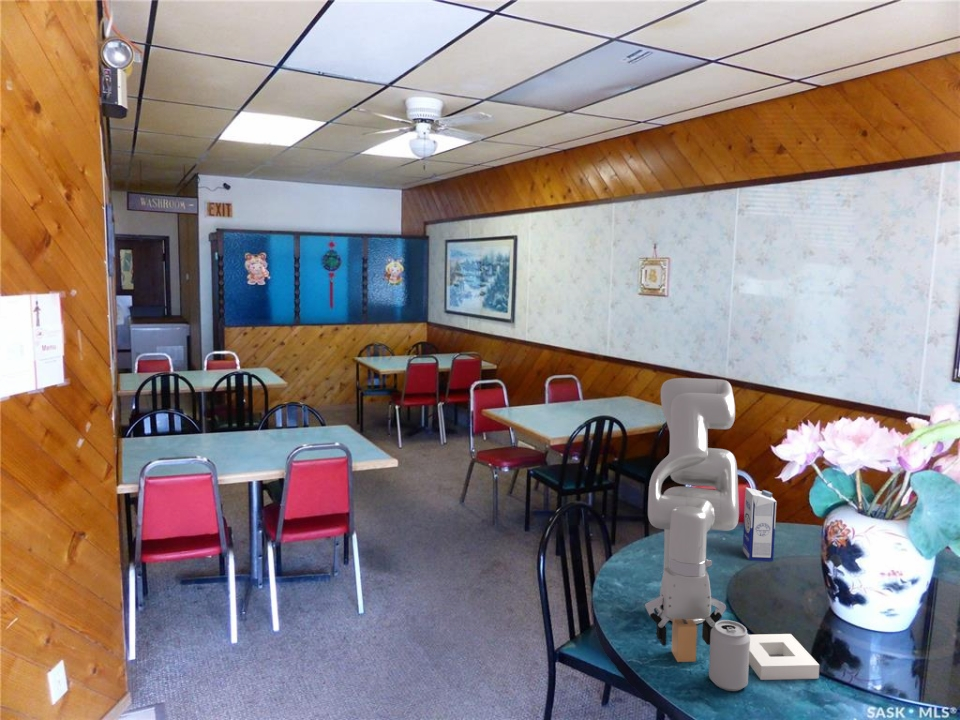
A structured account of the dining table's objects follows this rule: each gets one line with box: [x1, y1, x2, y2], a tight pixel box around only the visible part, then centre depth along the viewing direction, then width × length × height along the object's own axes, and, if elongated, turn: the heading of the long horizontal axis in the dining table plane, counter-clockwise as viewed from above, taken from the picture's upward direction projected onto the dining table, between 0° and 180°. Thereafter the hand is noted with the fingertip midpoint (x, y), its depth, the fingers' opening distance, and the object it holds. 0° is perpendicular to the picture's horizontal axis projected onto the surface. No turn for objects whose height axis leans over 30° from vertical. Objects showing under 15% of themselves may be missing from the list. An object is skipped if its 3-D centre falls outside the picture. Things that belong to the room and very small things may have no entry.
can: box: [708, 619, 750, 692], centre depth 135 cm, size 8×8×12 cm
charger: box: [671, 619, 698, 663], centre depth 145 cm, size 4×4×8 cm
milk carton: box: [742, 486, 777, 562], centre depth 196 cm, size 7×7×20 cm
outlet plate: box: [749, 633, 820, 681], centre depth 143 cm, size 12×12×3 cm
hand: (684, 641), depth 144 cm, fingers open, 9 cm apart
